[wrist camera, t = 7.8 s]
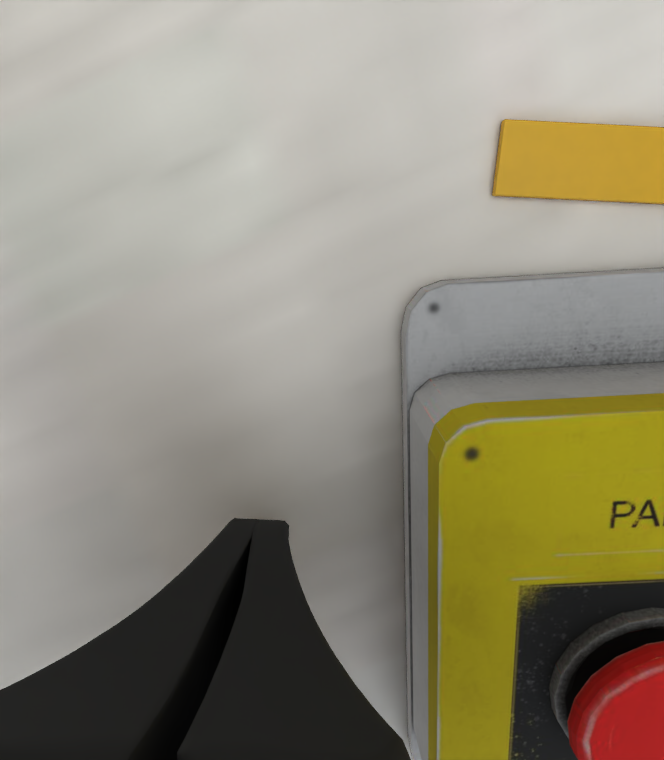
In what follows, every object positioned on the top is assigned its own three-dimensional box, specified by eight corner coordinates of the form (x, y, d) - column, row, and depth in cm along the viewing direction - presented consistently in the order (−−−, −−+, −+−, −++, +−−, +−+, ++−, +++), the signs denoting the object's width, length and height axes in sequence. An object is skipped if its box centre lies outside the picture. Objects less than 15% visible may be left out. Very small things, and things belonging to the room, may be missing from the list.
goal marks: (745, 806, 16) (750, 813, 16) (414, 795, 16) (415, 801, 16) (1007, 146, 10) (1019, 145, 10) (501, 121, 10) (504, 119, 10)
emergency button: (436, 956, 11) (442, 306, 7) (408, 759, 15) (400, 282, 11) (845, 943, 11) (1097, 270, 7) (702, 747, 15) (803, 259, 11)
